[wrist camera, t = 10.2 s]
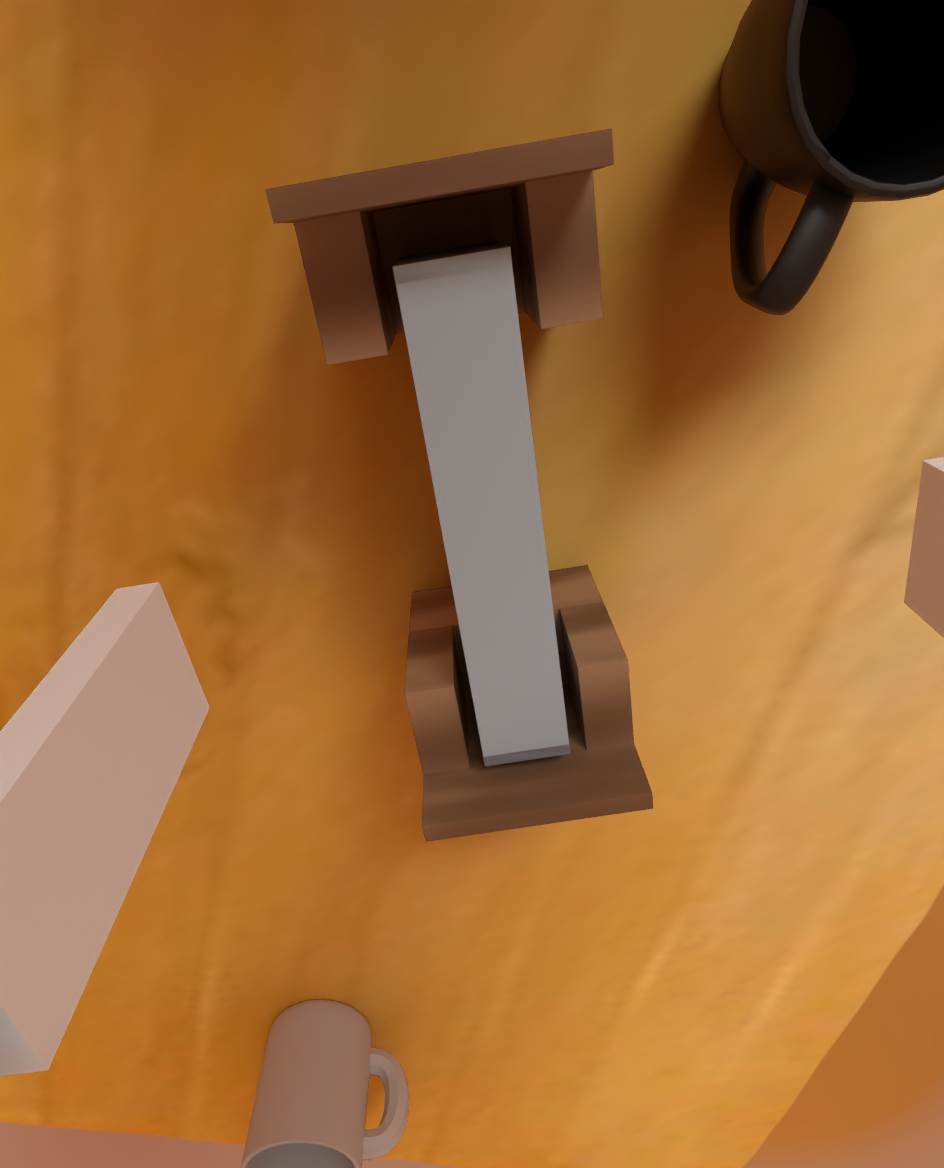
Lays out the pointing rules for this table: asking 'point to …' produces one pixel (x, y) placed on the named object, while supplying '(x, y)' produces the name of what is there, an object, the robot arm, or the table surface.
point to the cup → (323, 1092)
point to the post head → (449, 233)
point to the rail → (486, 491)
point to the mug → (827, 125)
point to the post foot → (539, 786)
